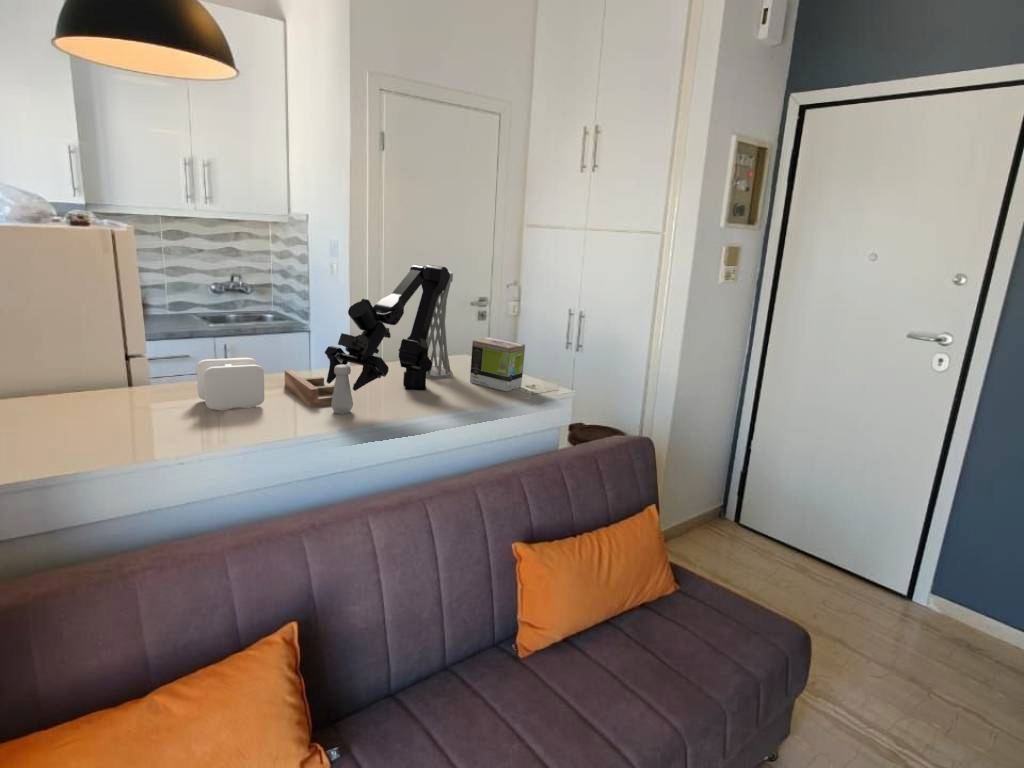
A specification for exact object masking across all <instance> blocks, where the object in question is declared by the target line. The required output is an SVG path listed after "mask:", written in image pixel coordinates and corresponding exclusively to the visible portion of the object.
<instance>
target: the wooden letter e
mask: <svg viewBox="0 0 1024 768" xmlns="http://www.w3.org/2000/svg"><path fill="white" fill-rule="evenodd" d="M319 385H320V386H319ZM334 385H335V384H332V385H325V377H324V376H318V377H317V376H316V377H315V376H313V377H306V378H305V377H304V378H303V377H302V376H301V375H300V374H298V373H297V372H295V371H293V370H291V369H287V370H284V388H286V389H287V390H288V391H289V392H291V393H292V394H293V395H295V396H296V397H297V398H299V399H300V400H301V401H303V402H304V403H305V404H307V405H308V407H311V408H312V407H313V408H314V407H321V406H328V405H331V401H332V396H333V395H331V394H333V391H334ZM327 394H330V395H328V396H327ZM319 395H321V396H319ZM322 395H326V396H322Z"/></svg>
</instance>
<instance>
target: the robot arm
mask: <svg viewBox="0 0 1024 768" xmlns="http://www.w3.org/2000/svg"><path fill="white" fill-rule="evenodd" d="M448 271H449V270H448V268H447V267H445V266H440V265H434V264H433V265H432V264H427V265H418V264H415V265H412V266H411V267H410V269H409V272H407V274H406V276H405V277H403V279H402V280H401V282H399V284H398V285H397V286H396V287H395V289H394V290H393V291H392V292H391V294H389V295H387V296H385V297H383V298H380V300H378V301H377V302H376V303H375V304H374V305H372V303H371V301H370V300H369V299H368V298H362V299H361V300H360V301H357V302H355V303H354V304H352V305H351V306H349V309H348V310H347V314H348V316H349V317H350V319H351V320H352V321H353V323H354V324H355V325H356V327H357V328H358V329H359V330H361V331H362V332H361V333H360V334H358V335H352V334H347V333H343V332H341V333H340V336H339V339H338V342H337V345H339V346H342V347H345V348H344V349H342V348H341V347H338V346H333V345H330V346H328V347H326V350H325V351H324V354H325V356H326V357H327V359H328V360H329V367H328V372H327V377H326V383H327V384H331V383H332V382H333V381H335V380H336V374H334V368H335V366H336V365H348V363H351V364H355V365H360V366H362V369H361V370H362V371H361V372H360V374H359V376H358V378H357V379H356V380H355V383H354V384H353V386H352V390H353V391H355V392H356V391H358V390H359V389H361V388H363V387H364V386H366V385H367V384H368V383H371V382H373V381H375V380H376V379H381V377H384V378H385V377H386V376H387V375H388V373H389V366H388V365H387V364H386V362H385V361H384V359H383V358H382V357H380V356H376V355H377V354H378V353H379V352H380V350H379V346H380V344H382V343H381V342H382V341H383V339H384V338H387V339H390V338H391V332H390V328H389V327H386V325H390V326H395V325H398V324H399V322H400V320H401V319H402V317H403V316H404V313H405V306H406V304H407V303H408V301H410V299H411V298H412V297H413V295H414V294H415V293H416V291H418V289H419V287H420V286H421V288H422V289H421V290H422V293H421V297H420V300H419V303H418V308H417V312H416V314H415V317H414V321H413V325H412V329H411V332H410V335H409V336H408V337H406V338H402V339H401V343H400V347H399V349H398V359H399V364H400V368H404V369H405V371H403V378H402V379H403V383H402V385H403V387H404V389H405V390H406V391H407V390H409V391H410V390H411V391H426V390H427V387H426V382H427V378H426V372H429V370H431V368H432V366H434V364H433V363H432V362H431V358H430V357H429V349H428V346H427V342H426V338H427V334H428V331H429V332H430V329H429V327H430V324H431V320H432V316H433V313H434V309H435V306H436V302H437V299H438V296H439V295H440V294H441V293H442V292H443V291H444V290H445V289H446V286H447V284H448V281H449V279H450V273H449V272H448ZM432 321H433V320H432ZM385 324H386V325H385ZM344 350H345V351H346V352H347V353H348V354H347V353H346V352H345V351H344ZM375 354H376V355H375ZM427 355H428V356H427Z"/></svg>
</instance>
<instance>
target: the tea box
mask: <svg viewBox="0 0 1024 768" xmlns="http://www.w3.org/2000/svg"><path fill="white" fill-rule="evenodd" d="M525 349H526V344H524V343H519V342H513V341H509V340H504V339H499V338H495V337H494V338H493V337H489V336H487V337H483V338H478V339H474V340H472V347H471V359H470V360H471V361H470V373H469V375H470V377H469V382H470V383H472V384H476V385H479V386H484V387H487V388H492V389H495V390H499V391H503V392H509V391H513V390H515V388H516V387H518V386H521V387H522V382H523V375H524V374H523V373H524V363H525V362H524V360H525V352H526V350H525ZM512 389H513V390H512ZM516 389H517V388H516Z"/></svg>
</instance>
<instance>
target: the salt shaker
mask: <svg viewBox="0 0 1024 768" xmlns="http://www.w3.org/2000/svg"><path fill="white" fill-rule="evenodd" d="M351 371H352V370H351V367H350V365H348V364H346V365H336V366H335V368H334V374H336V378H335V379H334V381H335V382H334V384H333V385H334V391H333V393H332V395H331V396H332V401H331V404H330V405H331V408H332V411H333V413H335V414H337V415H347V414H349V413H350V412H351V410H352V408H353V406H354V401H353V396H352V391H351V389H352V388H351V384H350V377H349V376H350V375H351Z"/></svg>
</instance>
